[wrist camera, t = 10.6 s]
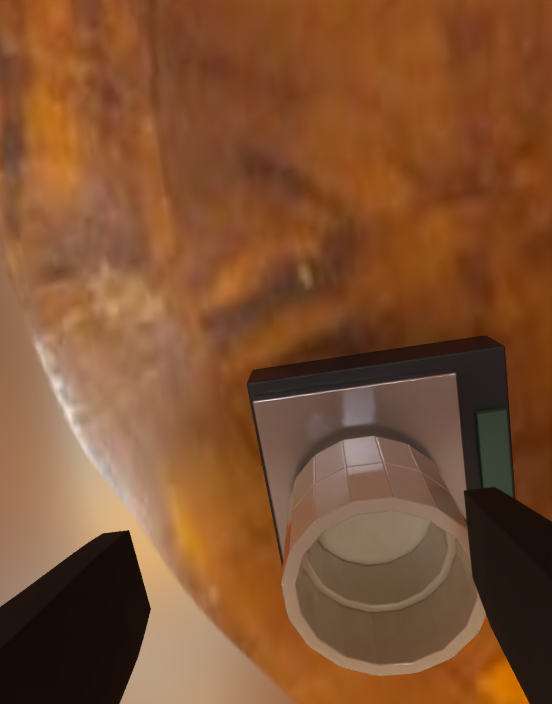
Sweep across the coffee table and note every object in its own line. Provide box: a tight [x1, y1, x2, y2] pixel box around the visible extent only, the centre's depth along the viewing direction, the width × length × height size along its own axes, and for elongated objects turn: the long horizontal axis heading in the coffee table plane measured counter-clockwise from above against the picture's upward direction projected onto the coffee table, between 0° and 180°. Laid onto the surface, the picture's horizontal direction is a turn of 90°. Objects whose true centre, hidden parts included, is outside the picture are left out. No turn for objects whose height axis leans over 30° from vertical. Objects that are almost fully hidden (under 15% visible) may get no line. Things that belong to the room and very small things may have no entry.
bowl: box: [281, 436, 486, 676], centre depth 15 cm, size 6×6×4 cm
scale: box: [247, 336, 515, 567], centre depth 19 cm, size 9×10×2 cm
